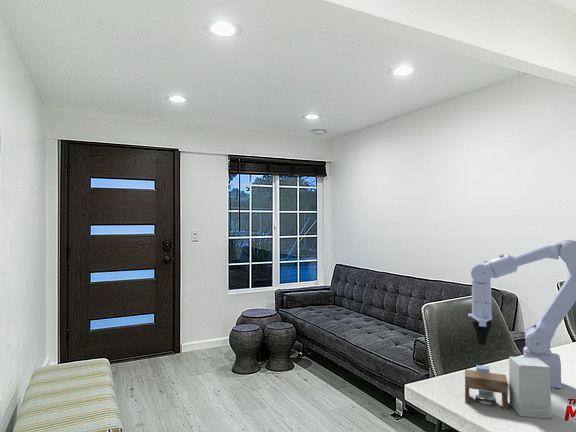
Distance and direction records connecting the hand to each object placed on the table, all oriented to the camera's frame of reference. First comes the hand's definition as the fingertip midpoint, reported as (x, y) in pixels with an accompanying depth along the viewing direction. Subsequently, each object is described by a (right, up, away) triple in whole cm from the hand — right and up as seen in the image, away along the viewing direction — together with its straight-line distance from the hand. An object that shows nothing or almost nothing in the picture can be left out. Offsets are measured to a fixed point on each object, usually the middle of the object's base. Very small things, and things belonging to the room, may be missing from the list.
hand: (481, 344), depth 129 cm
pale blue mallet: (-5, -9, -11) cm, 15 cm away
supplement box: (-1, -9, -27) cm, 28 cm away
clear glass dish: (-9, -9, -21) cm, 25 cm away
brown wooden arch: (-9, -9, -21) cm, 25 cm away
